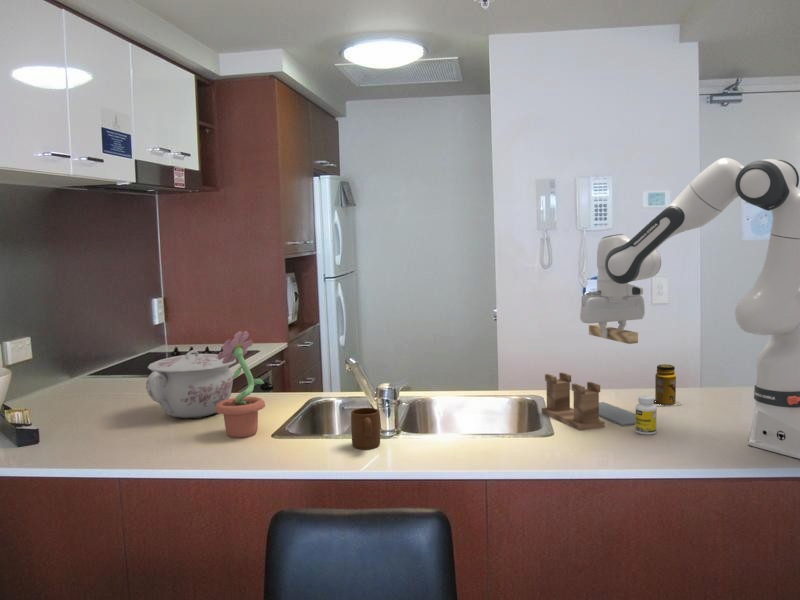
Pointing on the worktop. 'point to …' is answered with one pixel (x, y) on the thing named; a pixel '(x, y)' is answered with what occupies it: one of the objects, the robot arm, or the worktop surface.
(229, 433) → the decorative flower
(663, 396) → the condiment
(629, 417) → the mat
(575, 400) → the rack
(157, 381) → the chamber pot
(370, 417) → the mug
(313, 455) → the worktop surface
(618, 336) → the rail
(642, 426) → the supplement bottle
